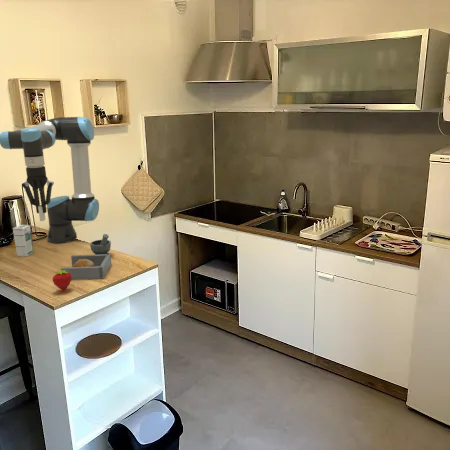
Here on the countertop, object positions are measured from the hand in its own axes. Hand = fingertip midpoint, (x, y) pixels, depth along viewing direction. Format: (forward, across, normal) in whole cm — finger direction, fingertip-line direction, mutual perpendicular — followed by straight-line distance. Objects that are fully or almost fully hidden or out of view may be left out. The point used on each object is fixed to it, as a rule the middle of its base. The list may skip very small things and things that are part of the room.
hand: (42, 220), depth 199 cm
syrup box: (+24, -19, +23) cm, 38 cm away
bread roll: (+24, +16, -5) cm, 29 cm away
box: (+23, +18, -4) cm, 29 cm away
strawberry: (+23, +13, -24) cm, 35 cm away
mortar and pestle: (+24, +20, +16) cm, 35 cm away
